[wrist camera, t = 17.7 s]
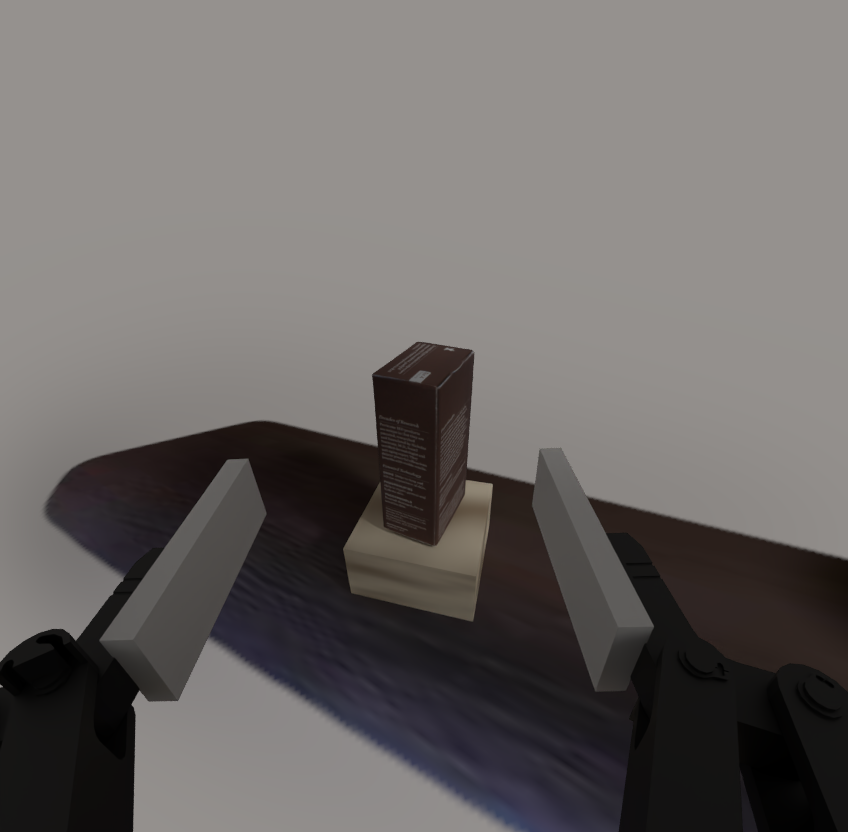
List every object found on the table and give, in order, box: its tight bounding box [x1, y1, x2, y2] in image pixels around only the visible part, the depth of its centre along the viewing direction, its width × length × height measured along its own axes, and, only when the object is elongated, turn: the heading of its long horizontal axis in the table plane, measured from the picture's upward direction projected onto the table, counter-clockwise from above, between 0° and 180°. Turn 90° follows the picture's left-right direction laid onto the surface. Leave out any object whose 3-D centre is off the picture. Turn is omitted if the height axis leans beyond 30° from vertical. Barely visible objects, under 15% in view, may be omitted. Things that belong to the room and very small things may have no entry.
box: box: [372, 342, 474, 546], centre depth 26 cm, size 6×4×12 cm
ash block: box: [343, 480, 493, 622], centre depth 30 cm, size 9×9×5 cm
